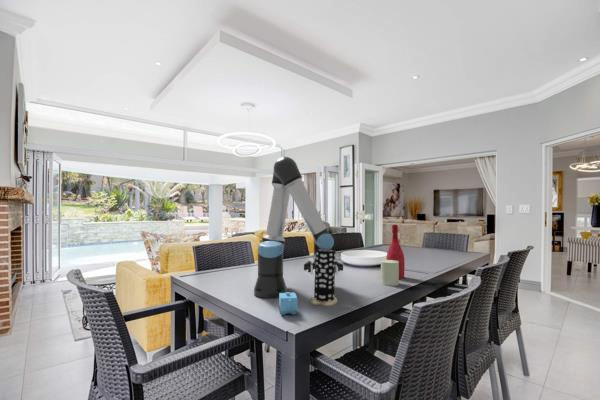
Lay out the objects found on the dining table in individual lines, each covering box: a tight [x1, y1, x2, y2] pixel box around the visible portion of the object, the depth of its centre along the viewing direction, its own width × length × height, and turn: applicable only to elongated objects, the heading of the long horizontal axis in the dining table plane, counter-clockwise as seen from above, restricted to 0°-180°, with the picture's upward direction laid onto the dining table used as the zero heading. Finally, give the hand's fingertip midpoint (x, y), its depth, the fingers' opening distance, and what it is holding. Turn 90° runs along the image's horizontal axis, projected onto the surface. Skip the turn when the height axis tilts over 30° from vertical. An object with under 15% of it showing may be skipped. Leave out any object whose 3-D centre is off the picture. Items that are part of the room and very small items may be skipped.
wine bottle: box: [385, 224, 406, 280], centre depth 170 cm, size 10×10×30 cm
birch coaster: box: [310, 296, 338, 307], centre depth 125 cm, size 11×11×1 cm
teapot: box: [278, 291, 298, 316], centre depth 111 cm, size 12×6×8 cm, turn 8°
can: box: [380, 259, 400, 287], centre depth 156 cm, size 9×9×12 cm
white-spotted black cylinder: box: [313, 249, 336, 301], centre depth 125 cm, size 8×8×20 cm
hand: (324, 271), depth 121 cm, fingers open, 10 cm apart
